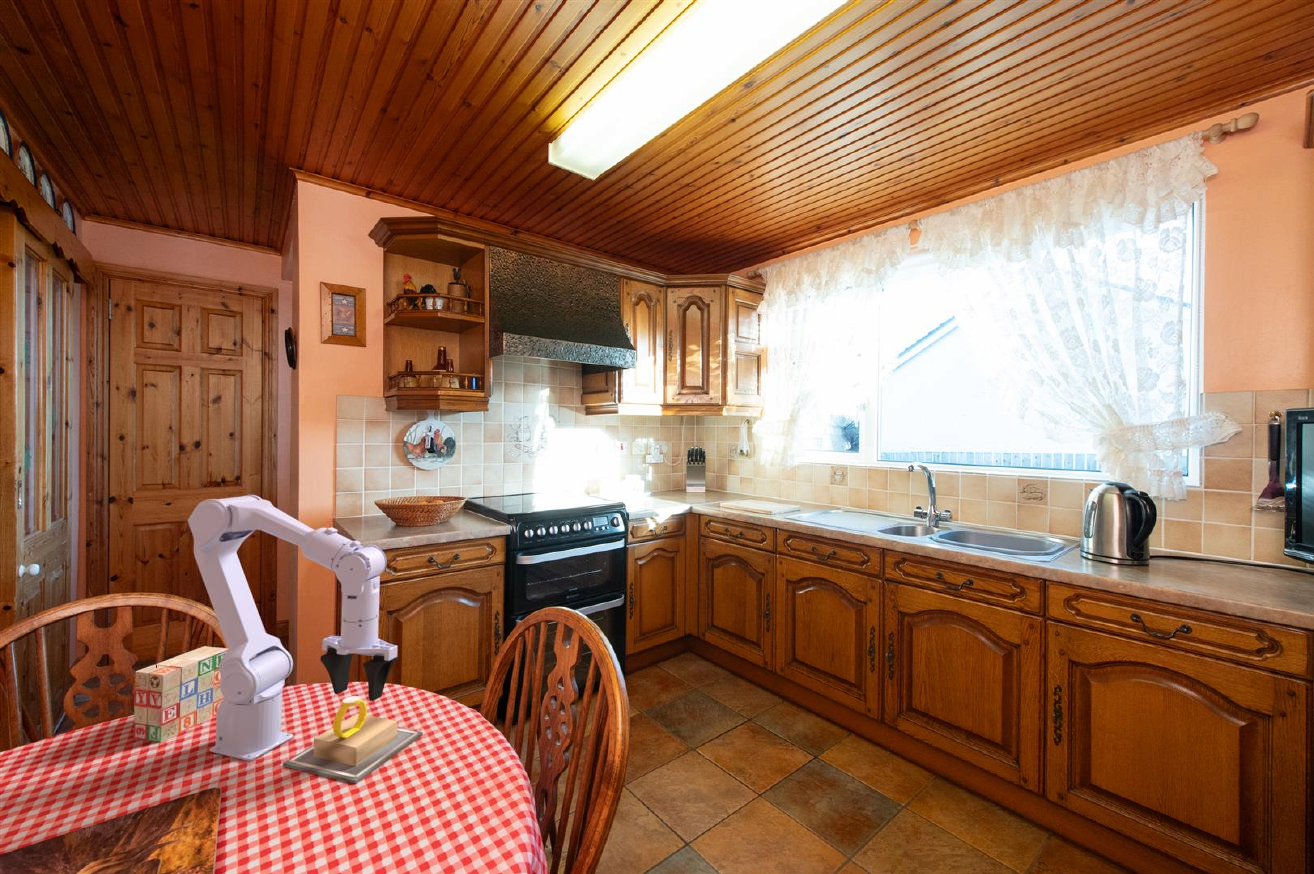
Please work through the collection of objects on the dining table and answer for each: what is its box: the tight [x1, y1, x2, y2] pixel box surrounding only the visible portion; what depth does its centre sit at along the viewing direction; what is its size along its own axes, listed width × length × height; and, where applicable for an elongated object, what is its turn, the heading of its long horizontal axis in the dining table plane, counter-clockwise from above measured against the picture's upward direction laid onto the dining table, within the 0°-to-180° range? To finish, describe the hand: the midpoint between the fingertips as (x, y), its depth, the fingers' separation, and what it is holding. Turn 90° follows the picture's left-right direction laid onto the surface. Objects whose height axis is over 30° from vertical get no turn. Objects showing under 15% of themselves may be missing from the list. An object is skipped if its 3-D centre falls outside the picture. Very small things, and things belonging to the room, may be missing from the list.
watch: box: [332, 695, 368, 739], centre depth 92 cm, size 6×3×6 cm, turn 166°
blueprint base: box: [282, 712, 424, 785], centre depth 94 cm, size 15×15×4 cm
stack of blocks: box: [132, 645, 256, 743], centre depth 106 cm, size 21×6×12 cm, turn 169°
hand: (358, 695), depth 94 cm, fingers open, 7 cm apart
